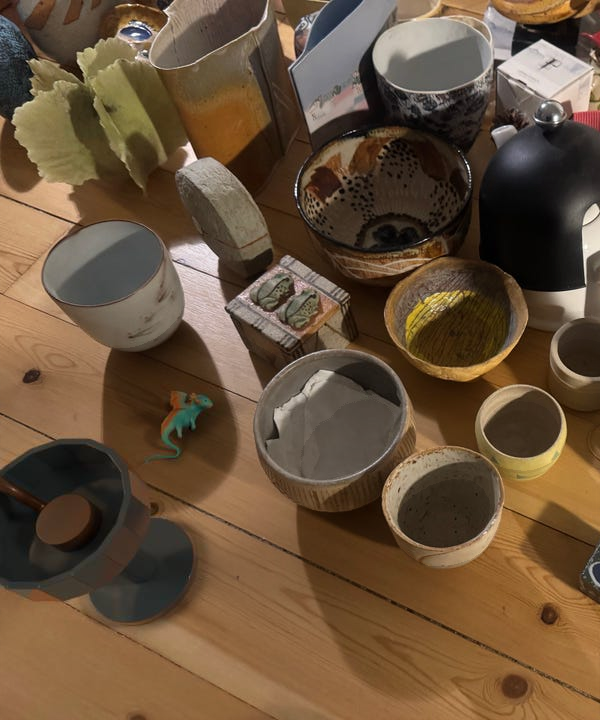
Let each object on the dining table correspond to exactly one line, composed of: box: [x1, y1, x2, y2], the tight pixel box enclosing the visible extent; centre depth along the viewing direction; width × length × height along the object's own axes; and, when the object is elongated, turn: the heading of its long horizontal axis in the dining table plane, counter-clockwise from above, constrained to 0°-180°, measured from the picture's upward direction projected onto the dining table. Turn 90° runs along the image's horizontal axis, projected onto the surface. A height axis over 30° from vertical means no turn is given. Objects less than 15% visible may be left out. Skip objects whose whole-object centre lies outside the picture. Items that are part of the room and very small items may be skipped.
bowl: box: [0, 437, 199, 626], centre depth 67 cm, size 13×13×19 cm
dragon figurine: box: [144, 390, 213, 465], centre depth 83 cm, size 6×7×8 cm
